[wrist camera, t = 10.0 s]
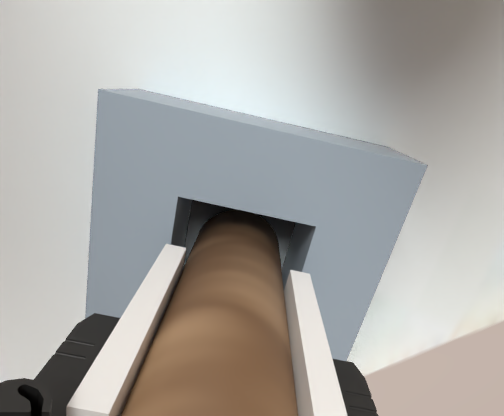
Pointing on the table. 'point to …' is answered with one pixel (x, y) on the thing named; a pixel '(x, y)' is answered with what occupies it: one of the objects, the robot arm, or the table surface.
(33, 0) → the table surface
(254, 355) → the peg
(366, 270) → the socket block
